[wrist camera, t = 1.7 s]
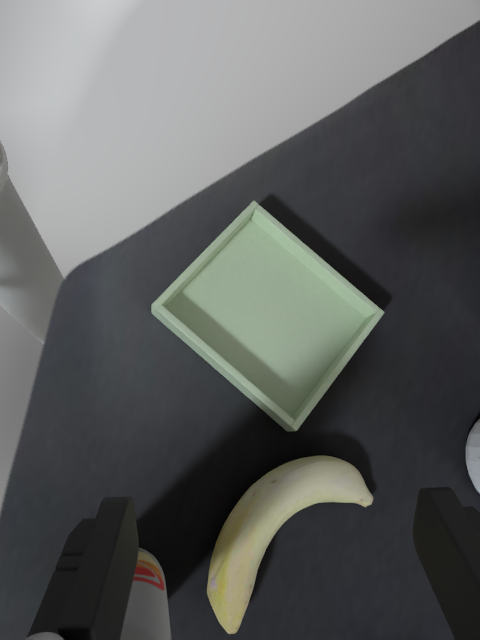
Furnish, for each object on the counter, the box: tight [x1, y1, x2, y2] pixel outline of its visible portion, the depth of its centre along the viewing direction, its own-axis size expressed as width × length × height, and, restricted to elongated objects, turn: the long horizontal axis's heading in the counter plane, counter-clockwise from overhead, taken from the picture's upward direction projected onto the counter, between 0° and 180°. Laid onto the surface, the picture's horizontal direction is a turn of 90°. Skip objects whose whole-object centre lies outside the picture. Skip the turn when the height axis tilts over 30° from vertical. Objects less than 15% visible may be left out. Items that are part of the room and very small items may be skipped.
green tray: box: [151, 201, 384, 432], centre depth 39 cm, size 15×13×2 cm
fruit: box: [207, 456, 373, 634], centre depth 34 cm, size 7×15×3 cm, turn 125°
